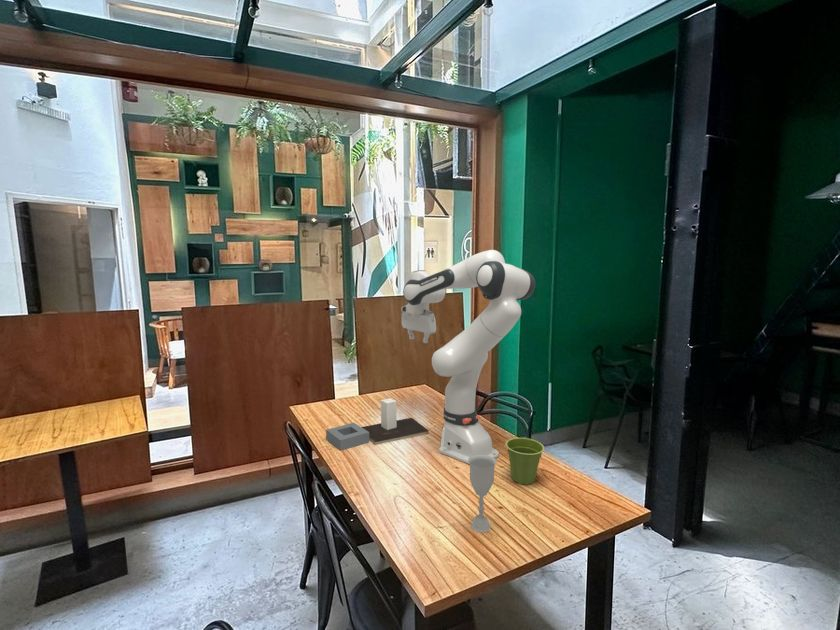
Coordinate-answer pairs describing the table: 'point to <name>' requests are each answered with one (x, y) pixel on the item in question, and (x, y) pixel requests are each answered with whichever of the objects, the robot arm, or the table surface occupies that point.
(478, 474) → the chalice
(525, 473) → the plant pot
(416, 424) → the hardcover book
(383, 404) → the cream block
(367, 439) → the holder
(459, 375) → the robot arm
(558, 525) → the table surface
